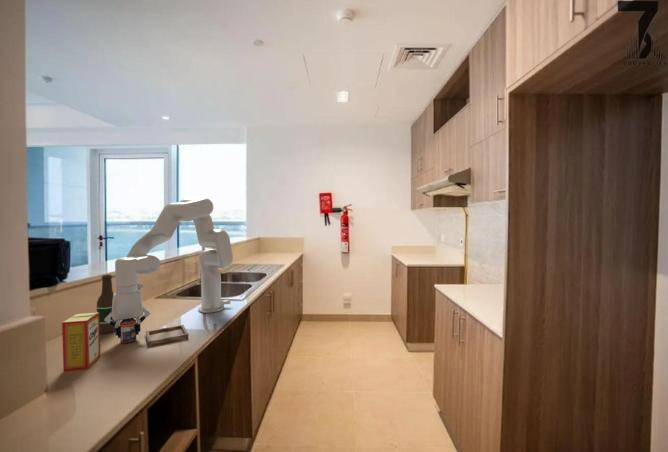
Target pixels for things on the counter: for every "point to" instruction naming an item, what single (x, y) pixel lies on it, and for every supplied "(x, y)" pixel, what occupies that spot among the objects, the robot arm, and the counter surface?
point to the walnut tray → (166, 335)
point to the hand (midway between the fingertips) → (128, 334)
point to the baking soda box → (81, 341)
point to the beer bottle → (105, 305)
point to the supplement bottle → (128, 330)
